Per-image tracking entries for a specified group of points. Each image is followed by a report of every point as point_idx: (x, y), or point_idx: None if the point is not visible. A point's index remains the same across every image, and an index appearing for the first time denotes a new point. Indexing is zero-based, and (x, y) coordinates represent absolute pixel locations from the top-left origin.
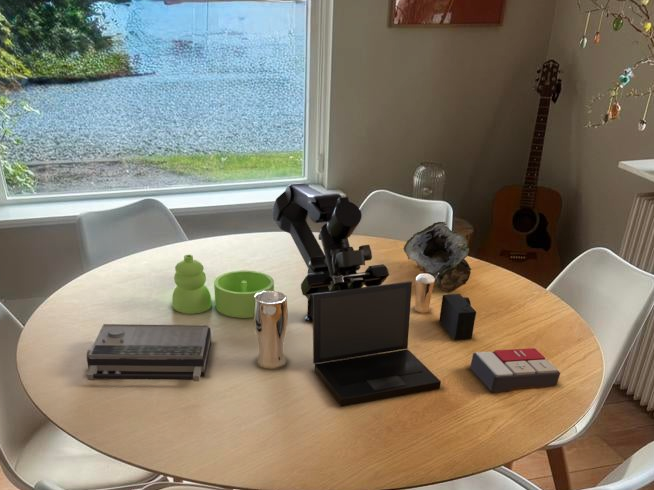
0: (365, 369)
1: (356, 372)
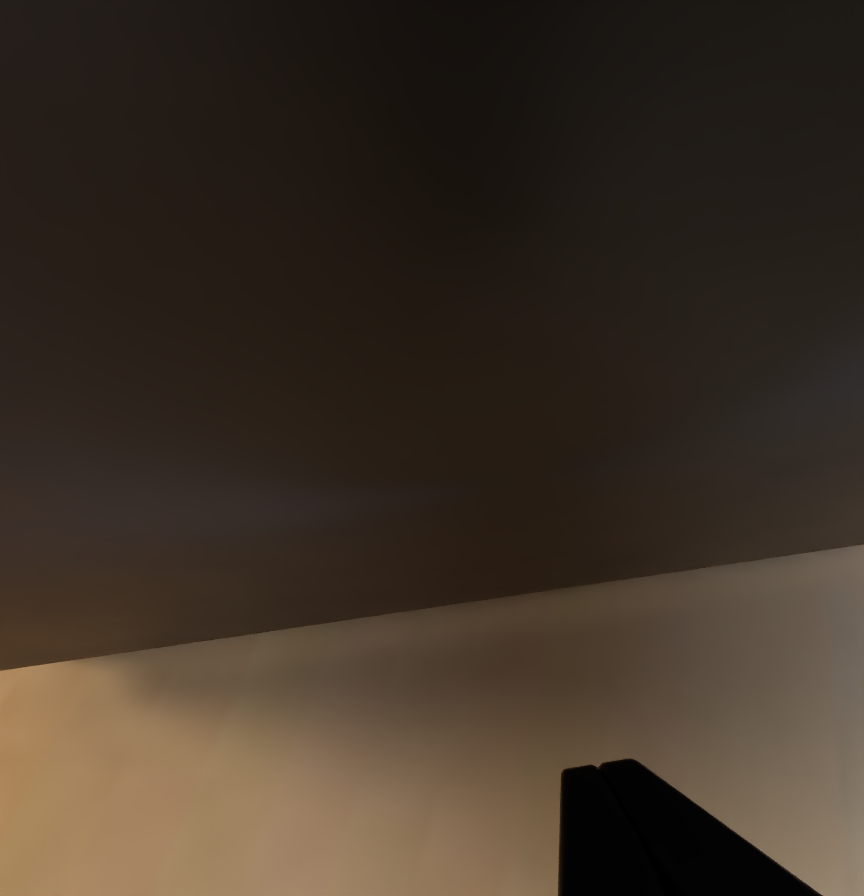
0: None
1: None
